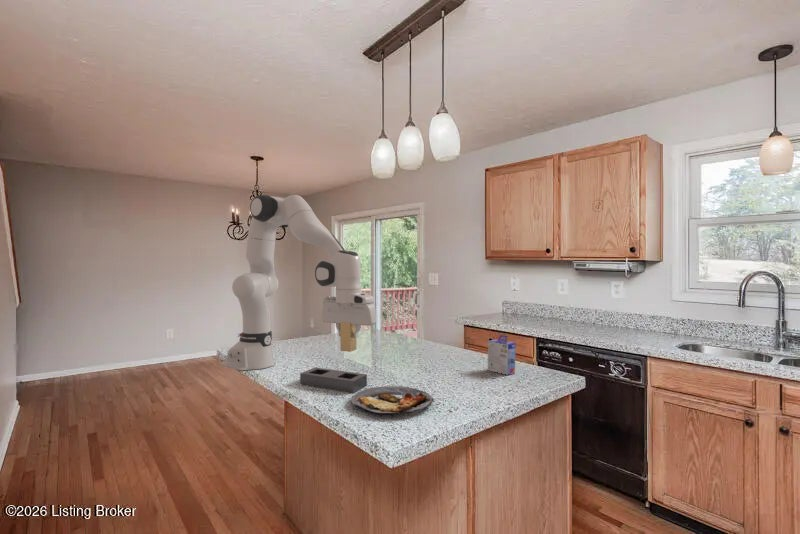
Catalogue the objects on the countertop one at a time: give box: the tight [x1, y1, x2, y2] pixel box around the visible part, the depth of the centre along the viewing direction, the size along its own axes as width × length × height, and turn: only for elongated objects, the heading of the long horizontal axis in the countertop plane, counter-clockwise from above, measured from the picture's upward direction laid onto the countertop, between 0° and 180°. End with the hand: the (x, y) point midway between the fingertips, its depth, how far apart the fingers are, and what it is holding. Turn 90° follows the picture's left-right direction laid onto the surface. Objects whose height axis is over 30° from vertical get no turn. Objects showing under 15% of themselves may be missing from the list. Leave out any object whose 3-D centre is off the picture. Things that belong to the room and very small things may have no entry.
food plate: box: [350, 385, 435, 415], centre depth 125 cm, size 25×23×4 cm
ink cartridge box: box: [487, 334, 517, 376], centre depth 162 cm, size 10×6×14 cm, turn 41°
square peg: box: [339, 322, 357, 353], centre depth 141 cm, size 4×4×10 cm
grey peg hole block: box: [299, 367, 368, 394], centre depth 143 cm, size 22×9×4 cm, turn 66°
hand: (348, 336), depth 141 cm, fingers closed on square peg, 4 cm apart
